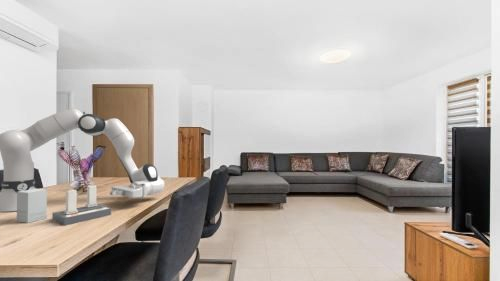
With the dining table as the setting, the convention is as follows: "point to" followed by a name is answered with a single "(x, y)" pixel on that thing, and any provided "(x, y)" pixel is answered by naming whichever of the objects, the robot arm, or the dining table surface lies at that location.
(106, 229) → the dining table surface
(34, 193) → the supplement box
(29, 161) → the robot arm
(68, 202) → the switch knob
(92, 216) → the switch panel
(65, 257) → the dining table surface
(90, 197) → the switch knob
